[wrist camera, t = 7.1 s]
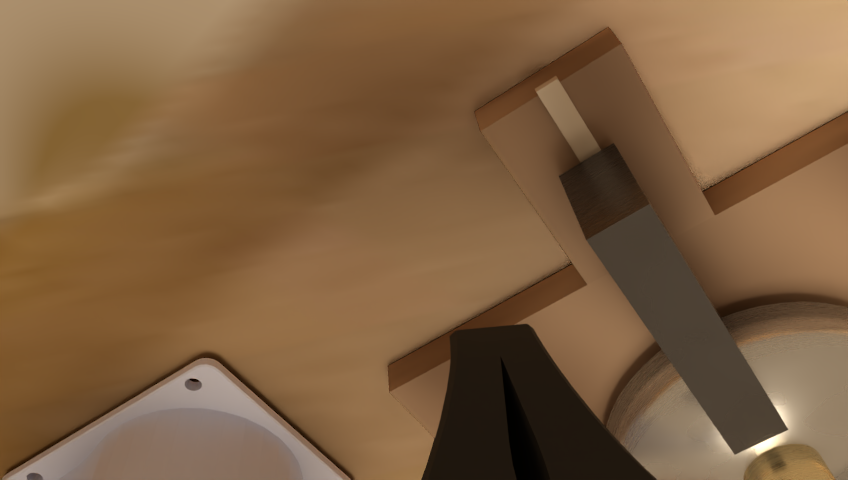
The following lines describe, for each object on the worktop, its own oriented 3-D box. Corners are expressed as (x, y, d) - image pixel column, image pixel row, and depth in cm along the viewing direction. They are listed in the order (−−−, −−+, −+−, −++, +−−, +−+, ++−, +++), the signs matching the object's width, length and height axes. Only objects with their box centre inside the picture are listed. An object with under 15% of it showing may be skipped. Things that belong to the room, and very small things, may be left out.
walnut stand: (605, 592, 34) (614, 624, 33) (263, 236, 23) (259, 264, 22) (1044, 404, 29) (1073, 433, 28) (876, -152, 19) (911, -142, 17)
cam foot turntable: (945, 440, 28) (1026, 541, 24) (679, 556, 30) (719, 662, 27) (770, 48, 19) (856, 120, 16) (423, 256, 22) (435, 355, 18)
